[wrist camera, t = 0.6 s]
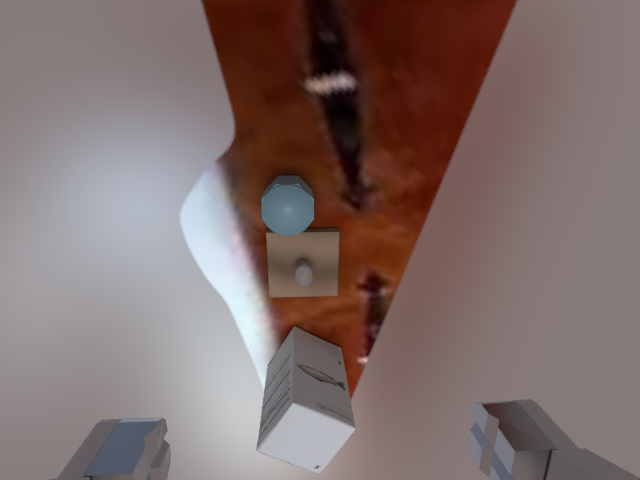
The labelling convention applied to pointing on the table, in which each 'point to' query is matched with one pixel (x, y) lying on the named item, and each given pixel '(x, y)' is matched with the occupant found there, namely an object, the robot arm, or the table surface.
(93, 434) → the robot arm
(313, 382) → the supplement box
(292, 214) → the teal cap
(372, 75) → the table surface
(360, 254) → the table surface
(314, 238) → the post base
